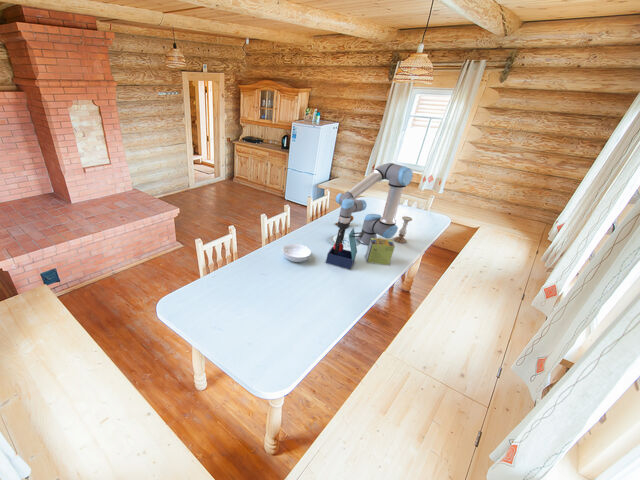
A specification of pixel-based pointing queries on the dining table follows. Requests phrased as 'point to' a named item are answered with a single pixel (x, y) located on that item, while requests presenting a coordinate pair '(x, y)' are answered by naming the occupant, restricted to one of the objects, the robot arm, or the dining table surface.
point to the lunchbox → (340, 258)
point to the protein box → (380, 251)
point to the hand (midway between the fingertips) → (337, 251)
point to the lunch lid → (354, 242)
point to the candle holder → (403, 230)
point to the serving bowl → (296, 252)
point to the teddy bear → (350, 219)
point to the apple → (339, 247)
